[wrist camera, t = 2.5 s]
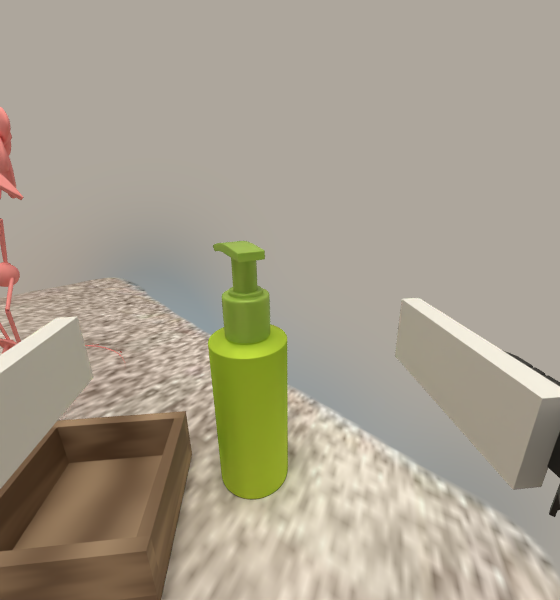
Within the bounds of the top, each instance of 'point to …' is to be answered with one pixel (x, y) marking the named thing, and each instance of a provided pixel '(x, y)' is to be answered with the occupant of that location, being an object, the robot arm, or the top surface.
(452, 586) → the top surface
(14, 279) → the figurine
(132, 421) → the walnut caddy
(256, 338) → the soap dispenser
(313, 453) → the top surface
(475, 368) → the robot arm
